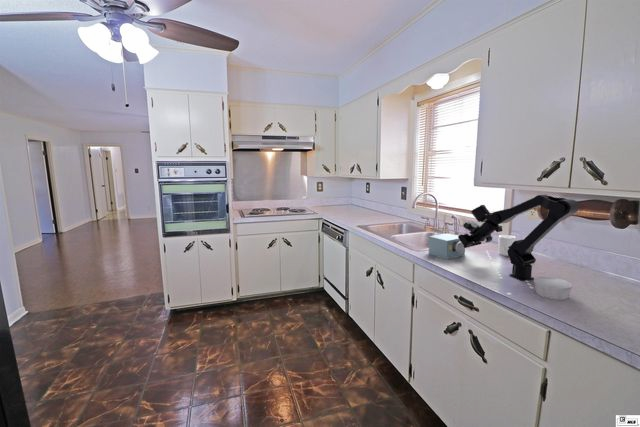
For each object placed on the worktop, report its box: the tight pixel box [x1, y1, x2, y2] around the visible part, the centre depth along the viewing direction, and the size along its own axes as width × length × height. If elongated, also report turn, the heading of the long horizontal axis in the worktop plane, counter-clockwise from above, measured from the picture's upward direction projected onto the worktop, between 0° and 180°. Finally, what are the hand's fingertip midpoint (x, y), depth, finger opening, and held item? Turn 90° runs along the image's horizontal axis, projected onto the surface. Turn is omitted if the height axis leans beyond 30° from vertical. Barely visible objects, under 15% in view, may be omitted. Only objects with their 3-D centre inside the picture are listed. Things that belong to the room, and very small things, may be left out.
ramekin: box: [533, 276, 573, 301], centre depth 108 cm, size 11×11×5 cm
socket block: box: [428, 232, 466, 260], centre depth 160 cm, size 12×14×10 cm
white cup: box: [497, 234, 517, 257], centre depth 158 cm, size 8×8×10 cm
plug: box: [453, 242, 466, 253], centre depth 158 cm, size 14×6×6 cm, turn 26°
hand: (464, 247), depth 150 cm, fingers closed
